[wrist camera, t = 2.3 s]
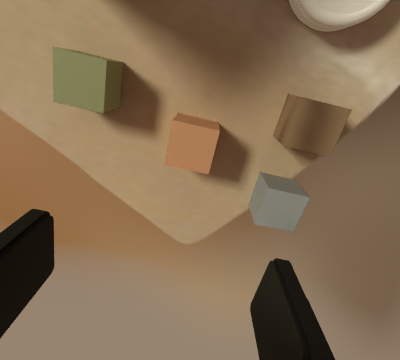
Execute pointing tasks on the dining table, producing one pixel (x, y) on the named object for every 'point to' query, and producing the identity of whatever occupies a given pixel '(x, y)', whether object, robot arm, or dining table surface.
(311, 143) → the walnut block
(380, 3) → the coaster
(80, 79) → the green cube
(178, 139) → the terracotta block
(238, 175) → the dining table surface
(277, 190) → the slate-grey block
